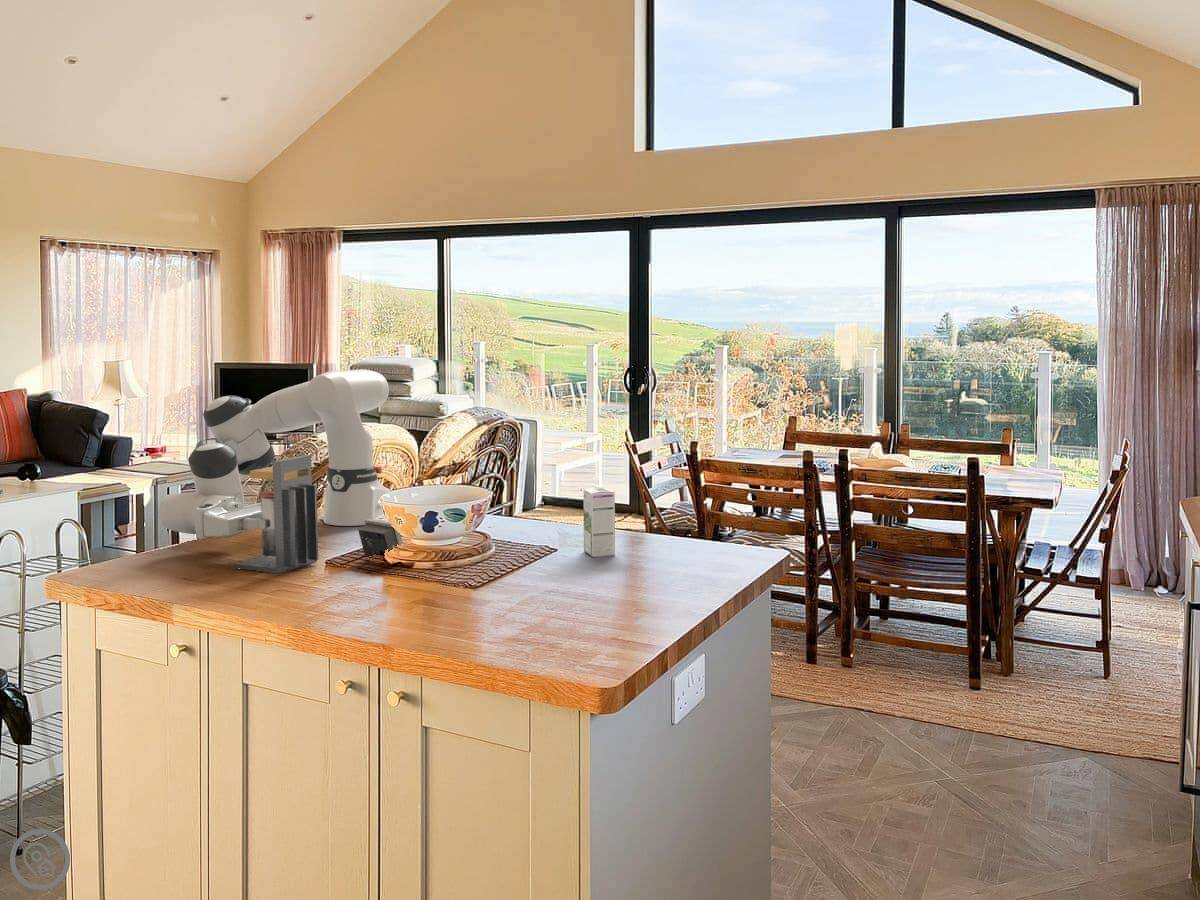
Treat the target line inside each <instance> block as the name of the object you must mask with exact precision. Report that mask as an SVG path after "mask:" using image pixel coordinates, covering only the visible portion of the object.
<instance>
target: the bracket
mask: <svg viewBox="0 0 1200 900" xmlns="http://www.w3.org/2000/svg"><path fill="white" fill-rule="evenodd" d="M249 478H250V479H256V480H257V479H258V480H259V479H260V480H272V484H273V485H272V488H273V490H272V491H273V492H274V520H275V548H276V556H264V555H263V554H260V555H256V556H253V557H251V558H248V559H244V560H241V561H238V562H235V563H233V568H240V569H239V570H241V569H248V570H247V571H250V570H256V571H255V572H260V571H263V573H269V572H270V573H272V574H279V575H282V574H284V573H287V572H290V571H293V570H296V569H299V568H301V567H304V566H307V565H310V564H313V563H316V562H318V560H319V535H318V533H319V532H318V503H317V502H318V500H317V499H318V498H317V495H318V494H317V484H312V483H313V482H312V481H313V479H312V455H307V454H306V455H305V454H304V455H303V454H302V455H297V456H296V455H295V456H293V457H292V456H291V457H288V458H282V459H278V460H274V461H272V465H271V466H269V467H267V468H262V469H257V470H252V471H250V475H249Z"/></svg>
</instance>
